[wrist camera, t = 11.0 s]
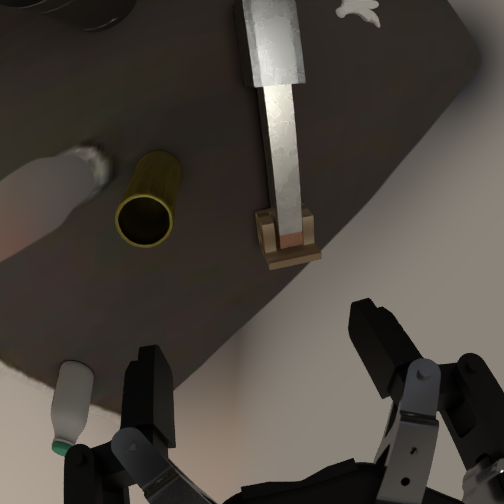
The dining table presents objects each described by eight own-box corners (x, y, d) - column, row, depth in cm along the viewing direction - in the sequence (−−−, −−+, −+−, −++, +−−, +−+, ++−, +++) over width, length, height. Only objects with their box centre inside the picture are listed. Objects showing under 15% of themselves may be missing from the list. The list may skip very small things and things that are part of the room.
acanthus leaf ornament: (329, -25, 26) (335, -29, 25) (373, -17, 27) (380, -19, 26) (334, 21, 30) (340, 19, 29) (377, 28, 31) (385, 27, 29)
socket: (254, 210, 42) (265, 235, 37) (302, 202, 43) (321, 224, 37) (258, 242, 45) (269, 270, 39) (304, 233, 46) (321, 258, 40)
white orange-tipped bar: (254, 72, 31) (261, 71, 28) (279, 70, 31) (289, 69, 28) (273, 234, 43) (280, 248, 40) (294, 230, 43) (303, 244, 40)
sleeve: (232, 6, 27) (240, -8, 22) (276, 3, 28) (293, -10, 22) (244, 86, 33) (254, 87, 28) (286, 81, 34) (305, 82, 28)
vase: (191, 165, 37) (191, 210, 26) (167, 203, 40) (158, 263, 28) (150, 141, 35) (128, 176, 23) (127, 182, 37) (99, 234, 25)
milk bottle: (64, 354, 51) (45, 440, 34) (98, 368, 54) (86, 455, 37) (58, 372, 53) (42, 451, 37) (89, 385, 57) (79, 464, 40)
